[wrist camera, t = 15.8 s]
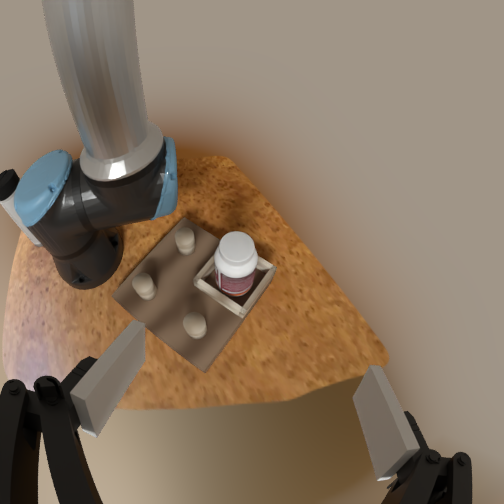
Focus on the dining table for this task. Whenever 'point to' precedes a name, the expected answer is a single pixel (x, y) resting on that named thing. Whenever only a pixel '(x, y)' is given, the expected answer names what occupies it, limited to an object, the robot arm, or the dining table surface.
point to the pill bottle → (235, 263)
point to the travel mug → (3, 192)
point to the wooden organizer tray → (188, 295)
